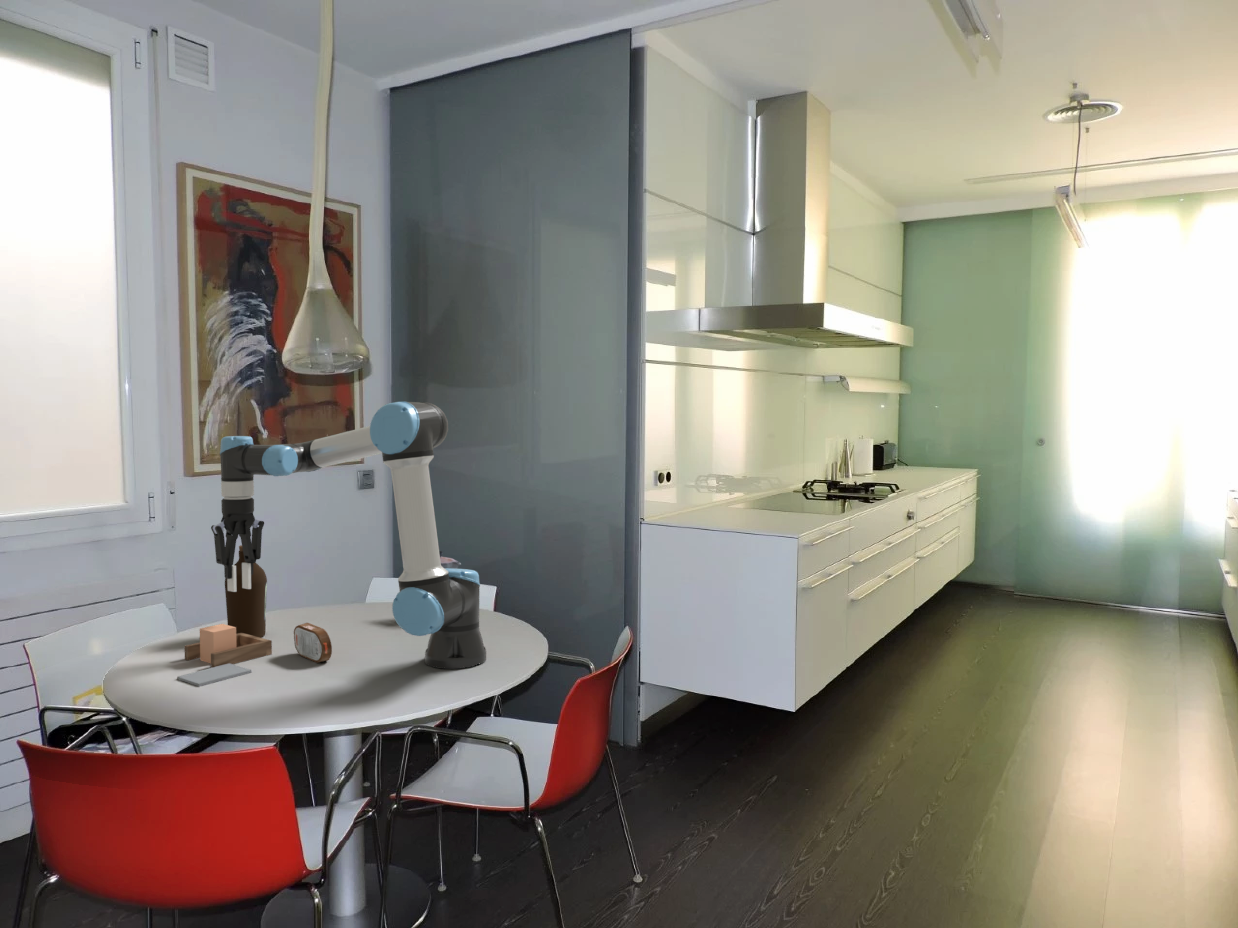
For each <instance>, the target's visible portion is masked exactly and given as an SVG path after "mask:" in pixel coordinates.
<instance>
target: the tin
mask: <svg viewBox="0 0 1238 928" xmlns="http://www.w3.org/2000/svg"><path fill="white" fill-rule="evenodd" d="M293 639H294V647H295V650H296V652H297V654H298V655H300V656H301V657H302V658H305V659H307V660H310V661H312V662H313V663H317V664H319V663H323V662H328V661H329V660H330V659H331V657H332V653H333V646H332V641H331V638H330V635H329V634H328V632H327V631H326V629H324V628H322V627H321V626H317V625H315V624H312V623H310V622H305V623H302V624H301V623H300V624H298V625H296V626H295V628H294V629H293Z"/></svg>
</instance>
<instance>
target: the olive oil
mask: <svg viewBox="0 0 1238 928" xmlns="http://www.w3.org/2000/svg"><path fill="white" fill-rule="evenodd" d="M238 548H239V550H238V559H237V561H236V562H235V564H233V565H234V566H236V587H237V592H232V591H228V587H227V579H226V578H225V577H224V593H225V605H226V607H225V608H226V618H227V619H226V620H227V621H226V622H227V625H229V626H233V627H236V634H238V633H244V634H248V635H252V636H256V637H260V638H263V637H264V636H266V630H267V629H266V628H267V627H266V620H267V619H266V618H267V616H266V615H267V614H266V613H267V590H268V588H267V587H268V578H267V574H266V571H265V570H264V569H263V567H261V566H260V565H259V563H257V561H256V562H255V563H253V575H251V589H245V588H242V563H244V562H245V559H244V554H243V548H242V544H241V545H239V546H238ZM245 563H246V562H245Z"/></svg>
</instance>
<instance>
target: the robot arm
mask: <svg viewBox="0 0 1238 928" xmlns="http://www.w3.org/2000/svg"><path fill="white" fill-rule="evenodd" d="M448 432H449V421H448V418H447V416H446V414H445V412H444V411H443V410H442V409H441V408H440V407H439V406H437V405H435V404H433V403H431V402H427V401H426V402H425V401H423V402H422V401H421V402H419V401H416V402H415V401H395V402H390V403H387V404H385V405H382V406H381V407H380V408H379V409H377V411H376V412H375V414H373V417H372V418H371V420H370V424H369V425H368V426H364V427H361V428H357V429H352V430H347V431H343V432H340V433H337V434H332V435H329V436H324V437H320V438H316V439H312V440H309V441H307V440H306V441H305V442H299V443H283V444H282V443H281V444H254V439H253V437H251V436H250V435H249V436H248V435H233V436H232V435H229V436H223V437H222V438H221V440H220V450H219V455H220V456H219V457H220V459H219V460H220V473H221V474H220V476H221V477H220V481H221V483H220V484H221V487H220V488H221V492H220V493H221V497H223V498H222V499H221V514H222V517H221V520H220V522H219V523H218V524H216V525H215V524H213V525H211V528H210V529H211V531H212V534H213V539H214V549H215V562H216V564H218V565H222V566H223V568H224V572H223V573H224V579H225V578H226V579H227V587H228V591H232V592H237V587H236V566H234V565H235V564H234V559H235V552H236V546H237V539H238V538H239V537H240V542H241V545H242V548H243V554H244V559H245V562H246V563H245V562H244V563H242V588H245V589H251V575H253V563H255V562H256V563H257V560H260V559H261V558H262V536H263V535H262V534H263V529H264V525H265V521H264V520H258V519H256V517H255V515H254V511H255V499H254V498H253V496H254V495H255V486H254V485H255V484H254V483H255V482H254V475H259V476H273V477H283V476H284V477H285V476H289V475H290V476H291V474H294V473H304V472H305V473H309V472H316V471H319V470H321V469H322V468H326V467H331V466H335V465H338V464H342V463H343V464H344V463H347V462H351V461H356V460H360V459H365V458H368V457H373V456H374V457H375V456H376V455H381V456H382V457H381V458H382V463H383V464H384V465H385V466H387V467H388V468H389V469H390V473H391V480H392V481H391V482H392V488H393V494H394V504H395V511H396V512H395V513H396V519H397V529H398V533H399V534H398V536H399V542H400V551H401V560H402V567H403V570H402V573H401V574H400V576H398V578H397V582H398V589H399V591H398V592H397V594H396V596H395V597H394V598H393V601H392V605H391V606H392V607H391V611H392V616H393V618H394V620H395V622H396V624H397V625H398V627H400V628H401V629H402V630H403V631H404V632H405V633H407V634H409V635H411V636H416V637H421V636H422V637H423V636H427V635H430V637H429V639H428V643H427V648H426V649H425V652H424V663H425V664H426V665H427V666H430V667H433V668H438V669H446V670H447V669H449V670H450V669H451V670H452V669H466V668H465V667H467V668H471V667H470V666H472V667H475V666H474V665H476V666H478V665H477V664H479V663H481V664H483V663H485V662H486V661H487V648H486V646H485V645H484V641H483V637H482V634H481V630H480V629H481V628H480V587H481V583H480V575H479V572H478V571H477V570H474V569H466V568H457V569H452V568H443V567H442V566H441V562H440V554H439V551H440V547H439V539H438V533H437V532H438V530H437V523H436V516H435V515H436V514H435V508H434V499H433V491H432V486H431V485H432V483H431V476H430V467H429V465H430V463H431V461H433V459H434V457H435V455H434V454H435V453H434V449H435V448H437V447H438V446H441V444H442V443H443V442H444V441H445V439H446V438H447V435H448ZM251 528H252V529H251ZM224 531H225V534H224ZM225 538H226V540H225ZM485 660H486V661H485ZM484 661H485V662H484ZM482 662H483V663H482ZM479 665H480V664H479Z"/></svg>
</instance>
